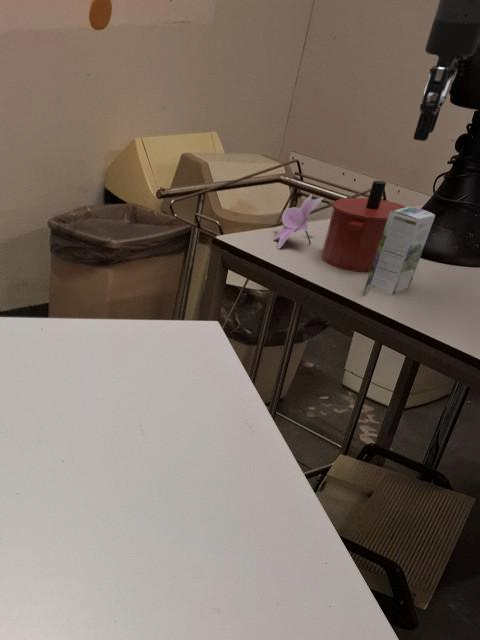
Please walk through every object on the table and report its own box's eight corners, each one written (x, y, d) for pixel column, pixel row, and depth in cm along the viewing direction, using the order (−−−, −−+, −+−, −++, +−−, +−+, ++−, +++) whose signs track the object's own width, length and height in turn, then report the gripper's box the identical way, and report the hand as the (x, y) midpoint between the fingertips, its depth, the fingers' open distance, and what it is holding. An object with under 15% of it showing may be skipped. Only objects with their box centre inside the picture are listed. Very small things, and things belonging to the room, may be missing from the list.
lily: (281, 237, 185) (270, 197, 178) (336, 223, 178) (328, 181, 171) (270, 270, 179) (259, 229, 173) (327, 257, 172) (318, 214, 166)
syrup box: (378, 288, 157) (405, 204, 148) (407, 297, 154) (436, 212, 144) (362, 294, 155) (388, 209, 145) (390, 303, 151) (419, 217, 142)
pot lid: (419, 212, 166) (429, 181, 162) (397, 228, 156) (408, 196, 153) (345, 199, 172) (353, 169, 168) (320, 214, 163) (328, 182, 159)
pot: (404, 256, 173) (420, 207, 167) (376, 280, 161) (393, 227, 155) (338, 243, 179) (352, 195, 173) (306, 265, 167) (320, 213, 161)
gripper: (482, 23, 125) (441, 145, 136) (488, 16, 135) (450, 132, 145) (429, 19, 128) (393, 140, 138) (439, 13, 137) (405, 127, 148)
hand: (422, 136), depth 142 cm, fingers open, 8 cm apart
